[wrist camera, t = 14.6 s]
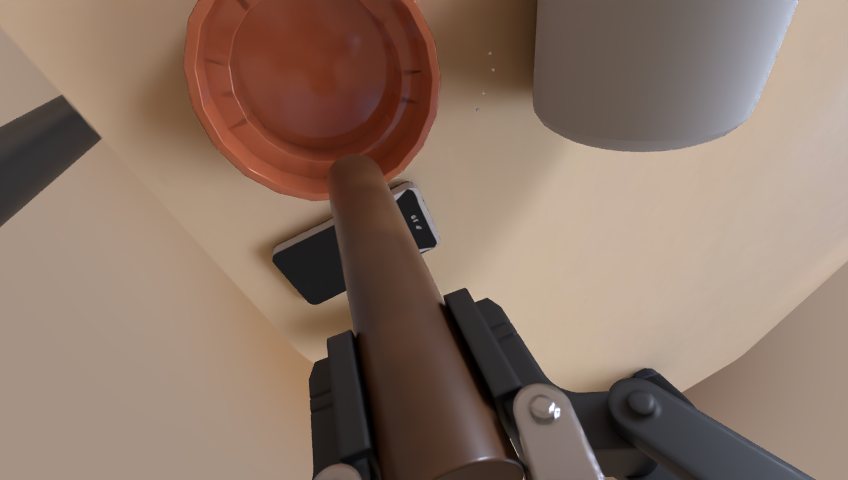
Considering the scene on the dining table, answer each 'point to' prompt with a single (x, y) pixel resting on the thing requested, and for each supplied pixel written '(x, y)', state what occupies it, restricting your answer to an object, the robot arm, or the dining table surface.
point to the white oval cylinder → (653, 68)
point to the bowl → (311, 85)
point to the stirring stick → (410, 344)
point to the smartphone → (319, 253)
